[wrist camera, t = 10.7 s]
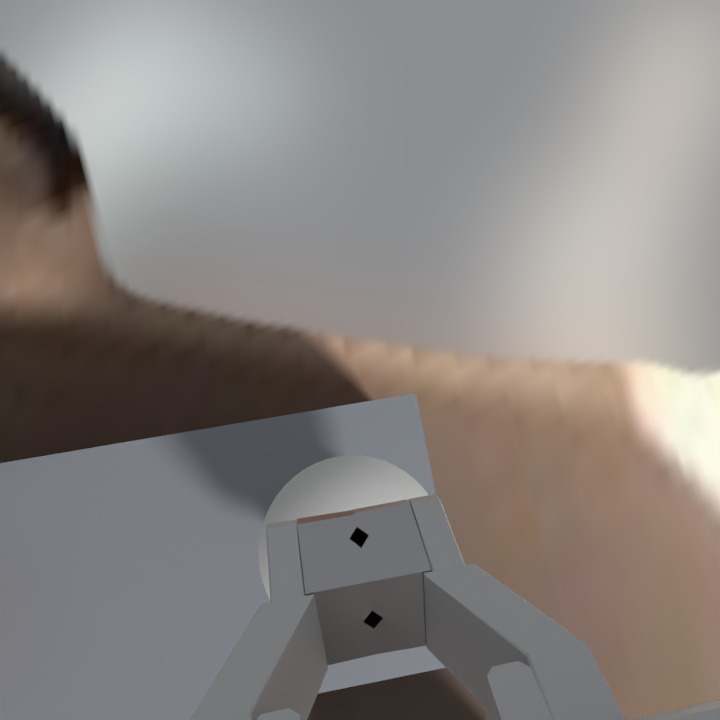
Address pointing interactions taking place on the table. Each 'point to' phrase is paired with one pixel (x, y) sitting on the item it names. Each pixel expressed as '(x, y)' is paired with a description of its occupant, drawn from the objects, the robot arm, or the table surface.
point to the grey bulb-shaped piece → (336, 493)
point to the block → (165, 560)
